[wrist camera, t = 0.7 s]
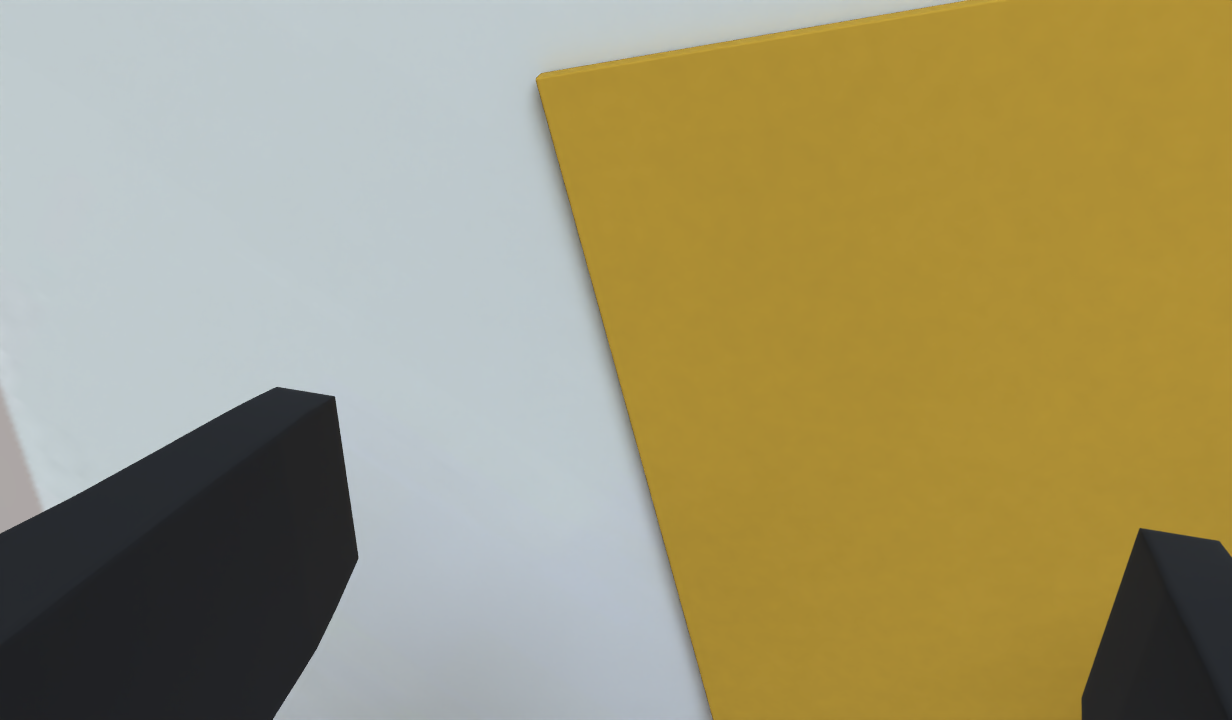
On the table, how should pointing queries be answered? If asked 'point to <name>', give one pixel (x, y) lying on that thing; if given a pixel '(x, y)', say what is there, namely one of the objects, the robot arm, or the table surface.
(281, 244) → the table surface
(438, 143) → the table surface
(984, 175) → the mustard cloth
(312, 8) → the table surface
